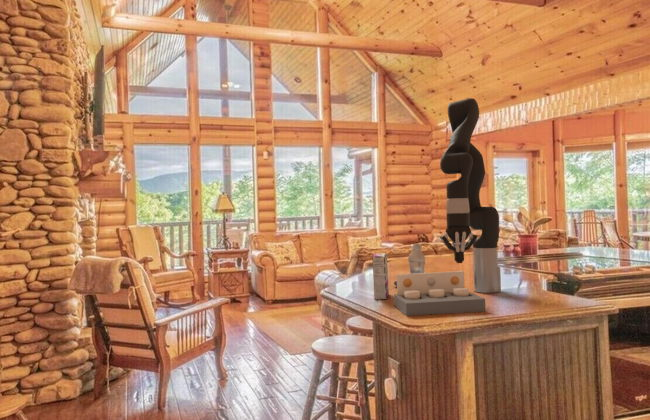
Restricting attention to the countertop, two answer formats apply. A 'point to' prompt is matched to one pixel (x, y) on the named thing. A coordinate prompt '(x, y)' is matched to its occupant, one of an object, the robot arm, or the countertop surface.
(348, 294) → the countertop surface
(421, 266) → the metal water bottle
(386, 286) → the candy bar box
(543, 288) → the countertop surface
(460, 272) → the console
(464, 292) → the button
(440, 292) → the button middle
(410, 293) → the button
